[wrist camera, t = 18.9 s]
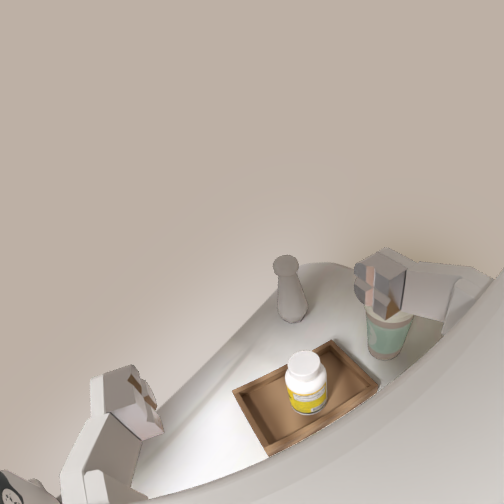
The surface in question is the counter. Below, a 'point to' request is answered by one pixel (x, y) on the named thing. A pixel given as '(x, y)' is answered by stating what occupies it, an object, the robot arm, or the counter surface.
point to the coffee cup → (386, 333)
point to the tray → (279, 407)
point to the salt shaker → (289, 290)
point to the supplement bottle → (306, 383)
